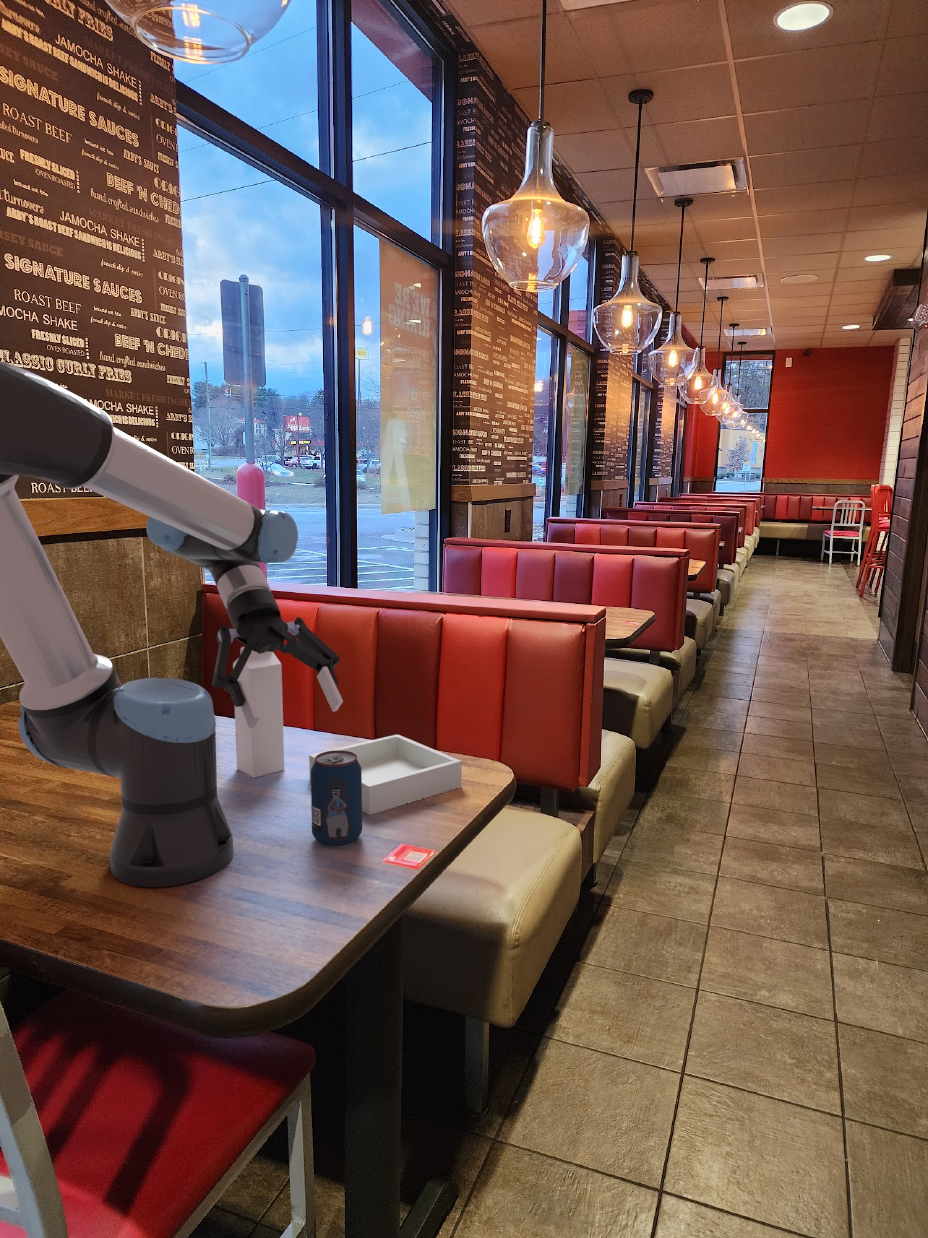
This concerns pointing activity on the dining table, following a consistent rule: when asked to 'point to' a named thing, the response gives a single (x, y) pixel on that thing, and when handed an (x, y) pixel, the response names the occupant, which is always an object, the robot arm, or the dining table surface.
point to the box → (400, 772)
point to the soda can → (336, 798)
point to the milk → (261, 717)
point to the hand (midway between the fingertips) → (297, 714)
